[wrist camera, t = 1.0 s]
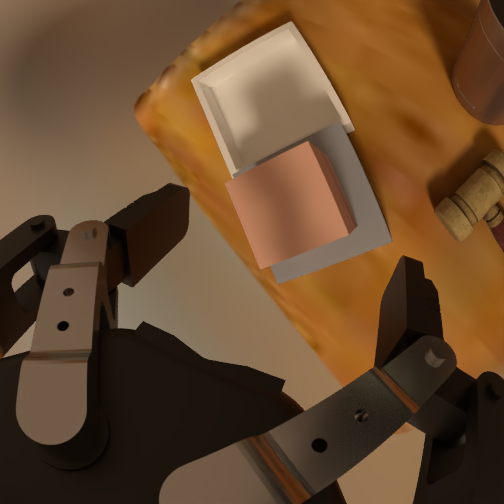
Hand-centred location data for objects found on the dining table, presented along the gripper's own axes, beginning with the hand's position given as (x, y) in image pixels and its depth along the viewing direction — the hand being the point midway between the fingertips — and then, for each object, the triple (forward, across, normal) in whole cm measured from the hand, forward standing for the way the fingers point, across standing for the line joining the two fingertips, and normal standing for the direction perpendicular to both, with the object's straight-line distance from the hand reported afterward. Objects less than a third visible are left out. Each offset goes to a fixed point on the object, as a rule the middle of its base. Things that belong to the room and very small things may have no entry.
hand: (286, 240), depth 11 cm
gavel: (+23, -23, +6) cm, 33 cm away
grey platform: (+24, +1, +9) cm, 25 cm away
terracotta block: (+18, +1, +7) cm, 19 cm away
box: (+28, +9, 0) cm, 30 cm away
